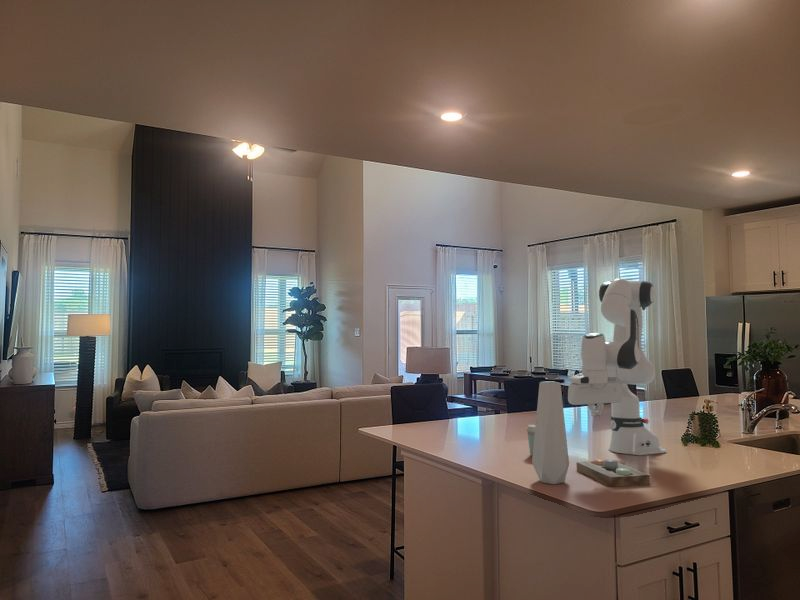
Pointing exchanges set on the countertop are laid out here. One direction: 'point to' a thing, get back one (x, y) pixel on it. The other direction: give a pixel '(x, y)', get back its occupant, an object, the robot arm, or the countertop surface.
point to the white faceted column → (550, 435)
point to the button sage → (622, 471)
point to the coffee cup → (531, 437)
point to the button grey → (610, 464)
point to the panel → (613, 474)
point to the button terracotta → (598, 461)
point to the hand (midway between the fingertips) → (596, 416)
